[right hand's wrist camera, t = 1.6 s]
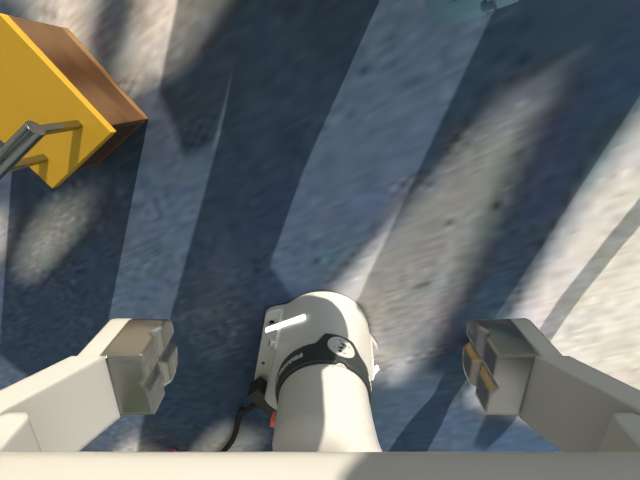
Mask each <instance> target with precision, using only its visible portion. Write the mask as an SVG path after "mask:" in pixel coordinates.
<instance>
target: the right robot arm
mask: <svg viewBox="0 0 640 480" xmlns="http://www.w3.org/2000/svg"><path fill="white" fill-rule="evenodd" d="M271 320H273V321H274V322H270V321H271ZM173 334H174V329H173V325H172V322H171V321H170V320H169V319H131V318H123V319H112V320H110V321H109V322H108V323H107V324H106V325H105V326H104V327H103V328H102V330H101V331H100V332H99V333H98V334H97V335H96V336H95V337H94V338H93V339H92V340H91V341H90V343H89V344H88V345H87V346H86V347H85V348H84V349H83V350H82V351H81V352H80V353H79V355H78V356H70V357H68V358H66V359H64V360H62V361H60V362H58V363H56V364H54V365H52V366H50V367H48V368H46V369H43V370H41V371H39V372H37V373H35V374H33V375H31V376H29V377H27V378H25V379H23V380H21V381H19V382H17V383H15V384H13V385H11V386H9V387H6V388H4V389H2V390H0V480H640V390H637V389H635V388H633V387H631V386H629V385H627V384H625V383H623V382H621V381H619V380H617V379H615V378H613V377H611V376H609V375H607V374H605V373H603V372H601V371H598V370H596V369H594V368H592V367H590V366H588V365H586V364H584V363H582V362H580V361H578V360H576V359H574V358H572V357H570V356H562V355H561V353H560V352H559V351H558V350H557V349H556V348H555V347H554V346H553V345H552V344H551V343H550V341H549V340H548V339H547V338H546V337H545V336H544V335H543V334H542V333H541V332H540V331H539V329H538V328H537V327H536V326H535V325H534V324H533V323H532V322H531V321H530V320H528V319H526V318H517V319H489V320H469V322H468V324H467V329H466V334H467V336H468V337H469V339H470V340H469V341H468V342H467V343H466V344H465V345H464V346H463V353H462V362H463V369H464V372H465V375H466V377H467V379H468V381H469V382H470V383H472V384H473V385H474V386H476V391H475V395H476V397H477V399H478V401H479V403H480V405H481V407H482V409H483V411H484V413H485V414H490V415H520V418H521V419H523V420H524V421H525V422H526V423H527V424H529V425H530V426H531V427H532V428H533V429H535V430H536V431H537V432H538V433H540V434H541V435H542V436H543V437H544V438H546V439H547V440H548V441H549V442H550V443H552V444H553V445H554V446H555V447H556V448H558V449H559V450H560V451H561V452H382V450H381V448H380V445H379V442H378V439H377V435H376V431H375V427H374V423H373V418H372V413H371V408H370V403H371V381H373V379H374V375H375V374H376V372H377V371H378V370H379V368H378V366H377V365H376V366H375V367H374V363H373V357H374V356H375V355H376V354H377V352H378V345H377V343H376V341H375V339H374V338H373V337H372V336H371V334H370V332H369V327H368V322H367V318H366V316H365V314H364V312H363V311H362V309H361V308H360V307H359V306H358V305H357V304H356V303H355V302H354V301H352V300H351V299H349V298H347V297H345V296H343V295H340V294H337V293H333V292H312V293H308V294H305V295H302V296H300V297H298V298H296V299H294V300H293V301H291V302H289V303H287V304H283V305H277V306H273V307H270V308H268V309H267V310H266V313H265V319H264V325H263V330H262V336H261V342H260V348H259V354H258V360H257V365H256V371H255V378H254V381H253V382H251V383H250V387H249V391H248V395H247V397H248V398H249V399H251V400H252V401H253V403H252V404H250V405H249V406H247V407H246V408H244V407H242V408H240V410H239V411H238V414H237V417H236V422H235V426H234V430H233V434H232V436H231V438H230V440H229V442H228V443H227V445H226V446H225V447H224V448H223V449H222V450H221V451H220V452H79V451H80V450H81V449H82V448H84V447H85V446H86V445H87V444H89V443H90V442H91V441H92V440H93V439H95V438H96V437H97V436H98V435H99V434H101V433H102V432H103V431H104V430H105V429H107V428H108V427H109V426H110V425H112V424H113V423H114V422H115V421H116V420H118V419H119V418H120V415H149V414H155V413H156V411H157V409H158V407H159V405H160V403H161V401H162V399H163V397H164V395H165V391H164V386H166V385H167V384H168V383H170V382H171V381H172V379H173V377H174V375H175V373H176V368H177V364H178V352H177V346H176V345H175V344H174V343H173V342H172V341H171V340H170V339H171V337H172V336H173ZM256 406H259V407H260V408H261V409H262V410H264V411H265V412H266V413H267V414H268V415H270V416H272V417H271V420H270V427H272V428H274V436H273V444H272V447H273V452H226V451H227V450H228V449H229V448H230V447H231V446H232V444H233V443H234V441H235V439H236V436H237V433H238V430H239V425H240V421H241V417H242V414H243V413H247V412H249V411H251V410H252V409H254V408H255V407H256Z"/></svg>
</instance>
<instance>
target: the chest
mask: <svg viewBox="0 0 640 480" xmlns="http://www.w3.org/2000/svg"><path fill="white" fill-rule="evenodd" d="M8 16H9V15H8ZM9 17H10V18H11V19H12V20H13V21H14V22H15V24H16V25H17V26H18V27H19V28H20V29H21V30H22V31H23V32H24V33H25V34H26V35H27V36H28V37H29V39H30V40H31V41H32V42H33V43H34V44H35V45H36V46H37V47H38V48H39V49H40V50H41V51H42V52H43V53H44V55H45V56H46V57H47V58H48V59H49V60H50V61H51V62H52V63H53V64H54V65H55V66H56V67H57V68H58V69H59V71H60V72H61V73H62V74H63V75H64V76H65V77H66V78H67V79H68V80H69V81H70V82H71V83H72V84H73V85H74V87H75V88H76V89H77V90H78V91H79V92H80V93H81V94H82V95H83V96H84V97H85V98H86V99H87V100H88V101H89V103H90V104H91V105H92V106H93V107H94V108H95V109H96V110H97V111H98V112H99V113H100V114H101V115H102V116H103V117H104V119H105V120H106V121H107V122H108V123H109V124H110V125H111V126H112V127H113V128H114V129H115V130H116V133H115V134H114V135H113V136H111V137H110V138H109V139H108V140H107V141H106V142H105V143H104V144H103V145H102V146H101V147H100V148H99V149H98V150H97V151H95V152H94V153H93V154H92V155H91V156H90V157H89V158H88V159H87V160H86V161H85V162H84V163H83V164H82V165H81V166H80V167H78V168H77V169H76V170H75V171H74V172H73V173H76V172H79V171H82V170H84V169H87V168H90V167H94V166H97V165H99V164H100V163H101V162H102V161H103V160H104V159H105V158H106V157H107V156H108V155H109V154H110V153H112V152H113V151H114V150H115V149H116V148H117V147H118V146H119V145H120V144H121V143H122V142H123V141H125V140H126V139H127V138H128V137H129V136H130V135H131V134H132V133H133V132H134V131H135V130H136V129H138V128H139V127H140V126H141V125H142V124H143V123H144V122H145V121H146V120H147V119H148V118H147V117H146V115H145V114H144V113H143V112H142V111H141V110H140V109H139V108H138V107H137V105H136V104H135V103H134V102H133V101H132V100H131V99H130V98H129V96H128V95H127V94H126V93H125V92H124V91H123V90H122V89H121V88H120V86H119V85H118V84H117V83H116V82H115V81H114V80H113V79H112V77H111V76H110V75H109V74H108V73H107V72H106V71H105V70H104V69H103V67H102V66H101V65H100V64H99V63H98V62H97V61H96V60H95V58H94V57H93V56H92V55H91V54H90V53H89V52H88V51H87V50H86V48H85V47H84V46H83V45H82V44H81V43H80V42H79V41H78V39H77V38H76V37H75V36H74V35H73V34H72V33H71V32H70V31H69V29H67V28H63V27H62V28H61V27H57V26H53V25H48V24H44V23H40V22H35V21H31V20H27V19H22V18H18V17H14V16H9ZM73 173H72V174H73Z"/></svg>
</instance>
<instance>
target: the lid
mask: <svg viewBox="0 0 640 480" xmlns="http://www.w3.org/2000/svg"><path fill="white" fill-rule="evenodd" d="M115 133H116V130H115V129H114V128H113V127H112V126H111V125H110V124H109V123H108V122H107V121H106V120H105V119H104V117H103V116H102V115H101V114H100V113H99V112H98V111H97V110H96V109H95V108H94V107H93V106H92V105H91V104H90V103H89V101H88V100H87V99H86V98H85V97H84V96H83V95H82V94H81V93H80V92H79V91H78V90H77V89H76V88H75V87H74V85H73V84H72V83H71V82H70V81H69V80H68V79H67V78H66V77H65V76H64V75H63V74H62V73H61V72H60V71H59V69H58V68H57V67H56V66H55V65H54V64H53V63H52V62H51V61H50V60H49V59H48V58H47V57H46V56H45V55H44V53H43V52H42V51H41V50H40V49H39V48H38V47H37V46H36V45H35V44H34V43H33V42H32V41H31V40H30V39H29V37H28V36H27V35H26V34H25V33H24V32H23V31H22V30H21V29H20V28H19V27H18V26H17V25H16V24H15V22H14V21H13V20H12V19H11V18H10V17H9V16H8V15H5V14H1V13H0V140H1V141H2V142H3V143H5V144H4V145H3V146H2V147H1V148H0V180H1V179H2V178H3V177H4V176H5V175H6V174H7V173H8V172H12V171H15V170H19V169H23V168H26V167H30V168H31V169H32V170H33V171H34V172H35V173H36V174H37V175H38V176H39V177H40V178H42V179H43V180H44V181H45V182H46V183H47V184H48V185H49V186H50V187H51V188H55V187H58V186H59V185H60V184H61V183H62V182H64V181H65V180H66V179H67V178H68V177H69V176H70V175H71V174H72V173H73V172H74V171H75V170H76V169H77V168H78V167H80V166H81V165H82V164H83V163H84V162H85V161H86V160H87V159H88V158H89V157H90V156H91V155H92V154H93V153H94V152H95V151H97V150H98V149H99V148H100V147H101V146H102V145H103V144H104V143H105V142H106V141H107V140H108V139H109V138H110V137H111V136H113V135H114V134H115Z"/></svg>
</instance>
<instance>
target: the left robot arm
mask: <svg viewBox="0 0 640 480" xmlns="http://www.w3.org/2000/svg"><path fill="white" fill-rule="evenodd" d="M425 1H426V4H427V6H428V8H429V11H430V13H431V15H432V16H433V18H434V19H435V20H436V21H438V22H439V23H442V24H458V23H462V22H466V21H470V20H473V19H476V18H478V17H481V16H484V15H486V14H488V13H489V12H491V11H493V10H494V9H498V8H502V7H505V6H508V5H511V4H513V3H515V2H517V1H519V0H425Z"/></svg>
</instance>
